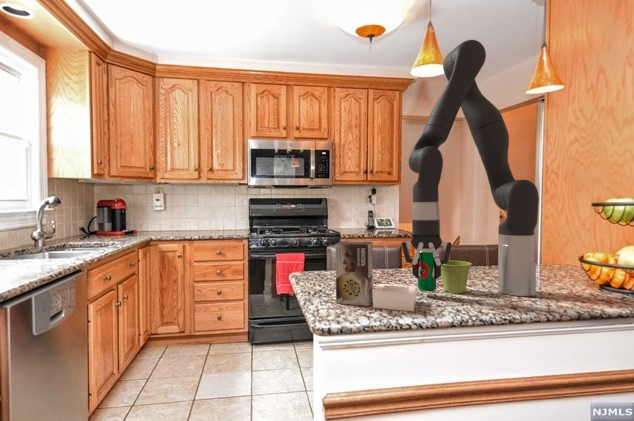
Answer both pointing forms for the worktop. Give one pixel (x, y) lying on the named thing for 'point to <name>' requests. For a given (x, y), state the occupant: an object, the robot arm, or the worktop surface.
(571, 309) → the worktop surface
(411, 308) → the holder
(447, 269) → the plant pot
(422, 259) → the soda can
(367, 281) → the coffee box
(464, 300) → the worktop surface
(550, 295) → the worktop surface
